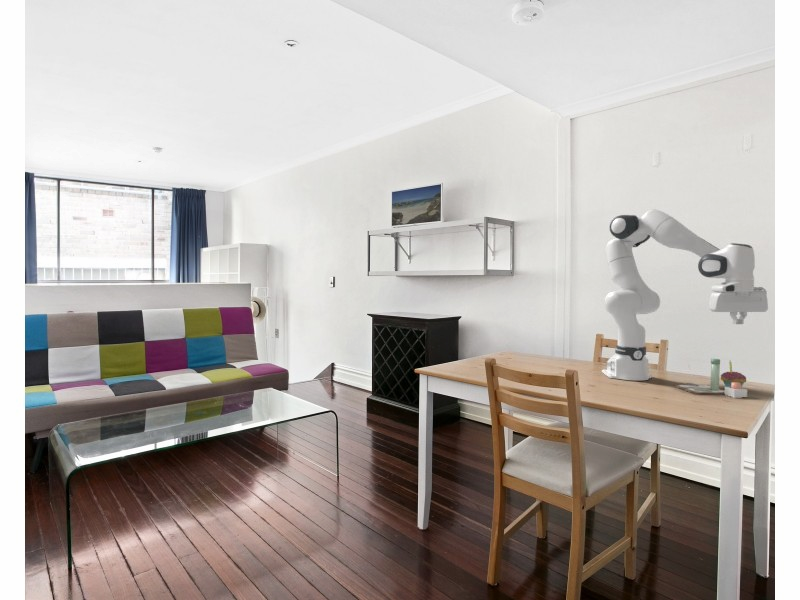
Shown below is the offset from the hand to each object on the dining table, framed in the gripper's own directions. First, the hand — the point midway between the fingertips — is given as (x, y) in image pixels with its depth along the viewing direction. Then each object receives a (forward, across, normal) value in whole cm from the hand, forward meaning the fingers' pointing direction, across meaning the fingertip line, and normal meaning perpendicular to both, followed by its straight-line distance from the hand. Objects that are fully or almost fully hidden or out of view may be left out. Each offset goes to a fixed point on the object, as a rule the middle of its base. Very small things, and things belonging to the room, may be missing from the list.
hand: (738, 324), depth 182 cm
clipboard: (+27, +6, -10) cm, 29 cm away
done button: (+26, 0, 0) cm, 26 cm away
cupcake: (+27, -7, -11) cm, 30 cm away
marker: (+26, +4, -7) cm, 27 cm away
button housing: (+27, 0, 0) cm, 27 cm away
